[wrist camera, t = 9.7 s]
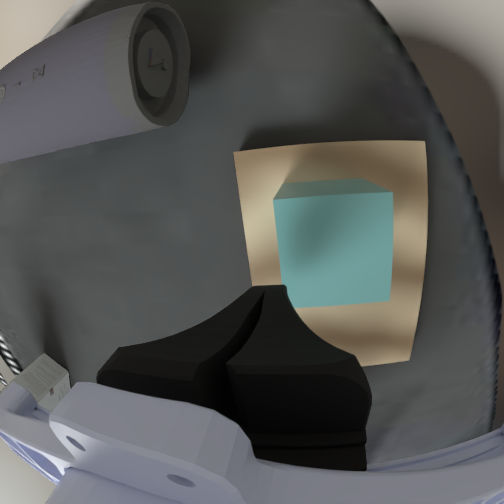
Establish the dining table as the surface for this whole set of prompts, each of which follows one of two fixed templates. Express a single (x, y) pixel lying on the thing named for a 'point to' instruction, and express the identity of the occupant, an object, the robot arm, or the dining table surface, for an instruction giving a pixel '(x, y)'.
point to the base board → (404, 235)
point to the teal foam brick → (335, 241)
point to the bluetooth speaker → (96, 82)
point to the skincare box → (44, 381)
